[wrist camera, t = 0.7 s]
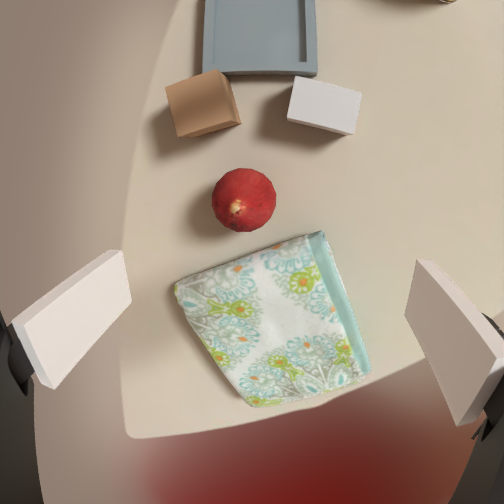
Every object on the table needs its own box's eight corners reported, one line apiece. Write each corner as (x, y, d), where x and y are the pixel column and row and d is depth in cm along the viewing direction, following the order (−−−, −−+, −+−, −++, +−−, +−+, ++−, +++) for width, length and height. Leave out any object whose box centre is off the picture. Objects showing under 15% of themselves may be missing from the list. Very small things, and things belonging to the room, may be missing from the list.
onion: (264, 228, 31) (254, 257, 24) (214, 207, 31) (189, 229, 24) (286, 179, 29) (284, 191, 22) (234, 156, 29) (213, 162, 21)
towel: (251, 392, 41) (246, 417, 36) (178, 275, 35) (162, 296, 31) (369, 361, 36) (376, 386, 31) (322, 219, 30) (327, 234, 26)
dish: (210, -7, 22) (206, -13, 20) (312, -10, 21) (313, -18, 19) (207, 77, 26) (202, 73, 24) (316, 76, 25) (317, 72, 23)
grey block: (295, 84, 25) (295, 75, 22) (353, 99, 25) (362, 92, 21) (287, 121, 27) (286, 117, 23) (345, 135, 27) (353, 134, 23)
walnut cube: (184, 94, 27) (164, 87, 22) (229, 79, 26) (216, 68, 21) (195, 137, 29) (177, 137, 24) (241, 123, 28) (231, 120, 23)
